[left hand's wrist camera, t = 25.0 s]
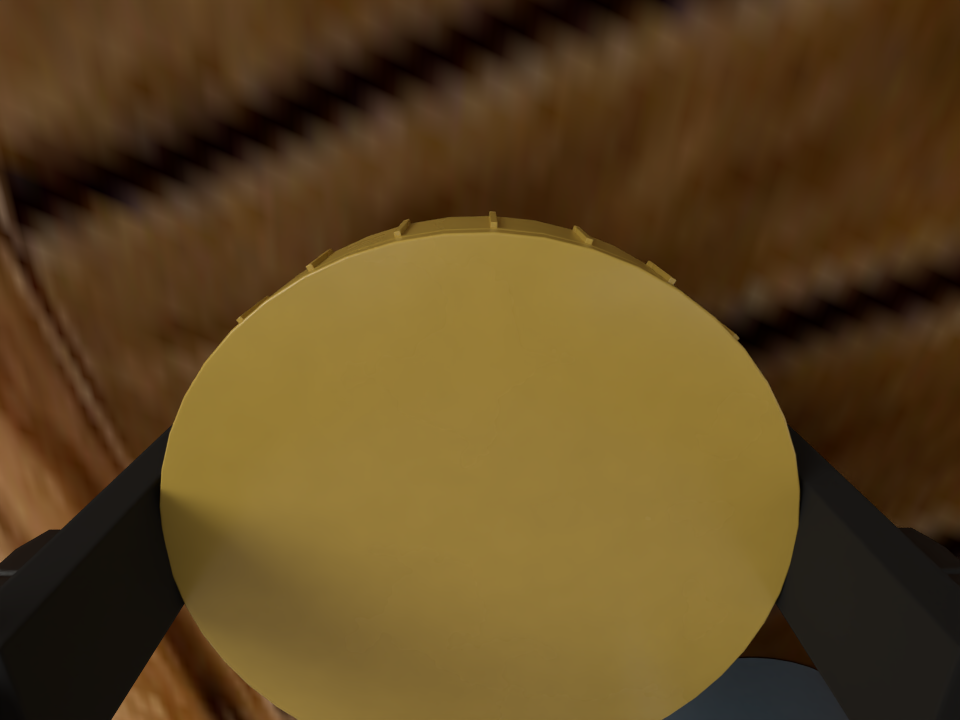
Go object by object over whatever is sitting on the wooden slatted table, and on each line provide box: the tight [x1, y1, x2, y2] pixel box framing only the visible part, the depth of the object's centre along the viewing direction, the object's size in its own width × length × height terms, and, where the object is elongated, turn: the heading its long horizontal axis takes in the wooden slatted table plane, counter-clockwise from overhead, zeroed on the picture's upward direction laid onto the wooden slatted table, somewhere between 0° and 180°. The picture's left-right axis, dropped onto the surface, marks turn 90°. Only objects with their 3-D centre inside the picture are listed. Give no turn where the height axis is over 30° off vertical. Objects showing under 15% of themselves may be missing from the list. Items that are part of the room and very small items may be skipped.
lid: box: [160, 211, 800, 720], centre depth 11 cm, size 11×11×2 cm
